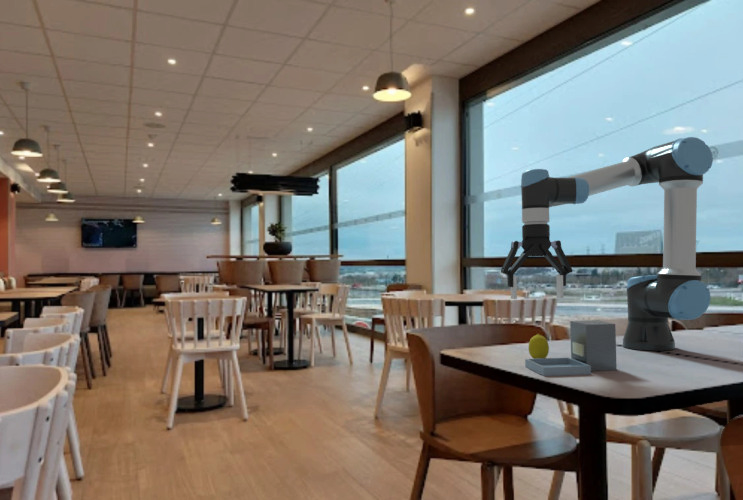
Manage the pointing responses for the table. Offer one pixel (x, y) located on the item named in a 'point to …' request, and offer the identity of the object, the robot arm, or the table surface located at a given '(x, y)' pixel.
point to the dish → (557, 366)
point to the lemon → (538, 347)
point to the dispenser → (594, 344)
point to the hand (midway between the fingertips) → (537, 298)
